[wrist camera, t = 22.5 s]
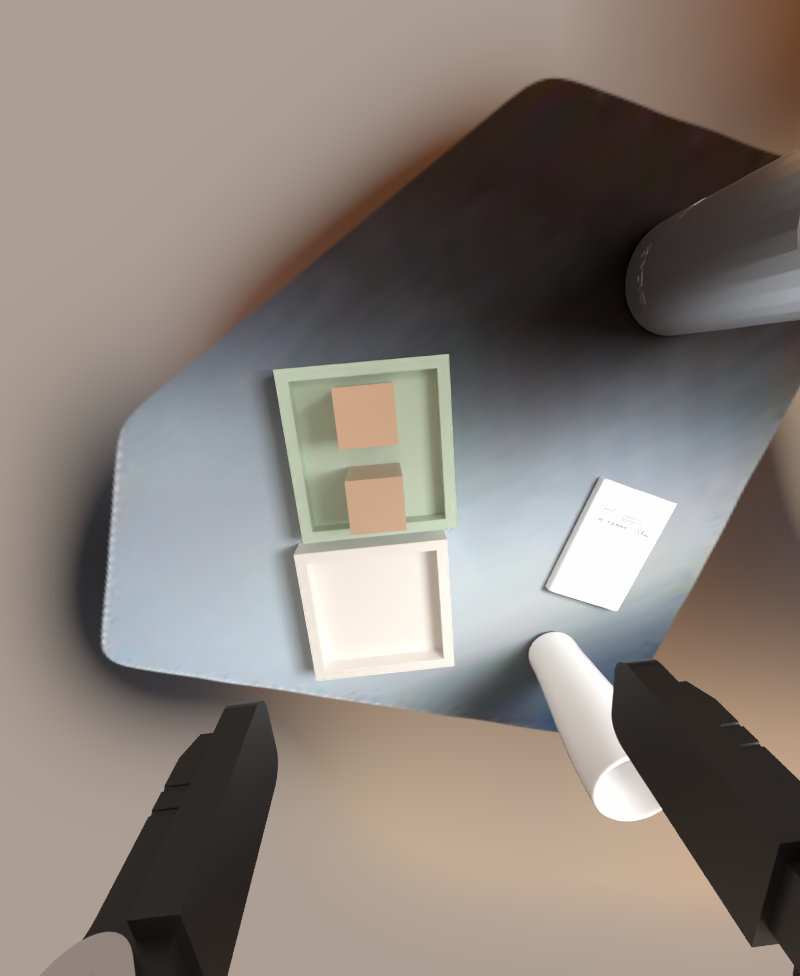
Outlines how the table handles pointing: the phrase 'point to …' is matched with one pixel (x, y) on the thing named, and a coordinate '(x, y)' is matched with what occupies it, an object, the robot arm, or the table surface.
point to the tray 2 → (377, 604)
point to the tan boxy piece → (365, 415)
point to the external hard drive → (609, 544)
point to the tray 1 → (418, 451)
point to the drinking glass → (589, 728)
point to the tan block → (375, 498)
